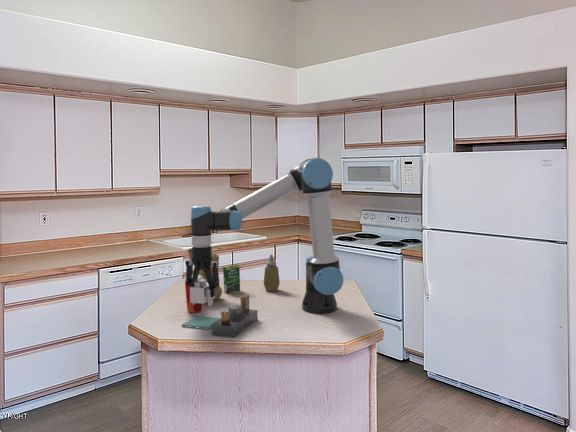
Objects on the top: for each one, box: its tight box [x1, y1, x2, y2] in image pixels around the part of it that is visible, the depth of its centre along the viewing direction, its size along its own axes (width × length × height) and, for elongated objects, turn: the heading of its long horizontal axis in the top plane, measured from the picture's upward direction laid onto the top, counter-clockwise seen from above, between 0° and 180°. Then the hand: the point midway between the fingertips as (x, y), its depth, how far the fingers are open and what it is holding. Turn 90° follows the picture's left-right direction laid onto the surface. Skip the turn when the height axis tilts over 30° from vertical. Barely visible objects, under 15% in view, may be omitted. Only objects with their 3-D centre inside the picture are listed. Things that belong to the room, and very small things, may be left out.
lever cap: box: [190, 279, 215, 305], centre depth 189 cm, size 6×9×8 cm, turn 161°
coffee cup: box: [183, 275, 204, 314], centre depth 207 cm, size 8×8×15 cm
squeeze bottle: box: [263, 254, 281, 293], centre depth 241 cm, size 8×8×18 cm
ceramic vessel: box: [187, 248, 223, 304], centre depth 224 cm, size 17×20×25 cm
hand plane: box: [211, 293, 259, 338], centre depth 186 cm, size 9×22×10 cm, turn 161°
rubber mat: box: [181, 315, 221, 330], centre depth 191 cm, size 12×12×1 cm
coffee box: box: [222, 264, 241, 294], centre depth 240 cm, size 8×3×13 cm, turn 125°
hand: (202, 304), depth 190 cm, fingers closed on lever cap, 6 cm apart
